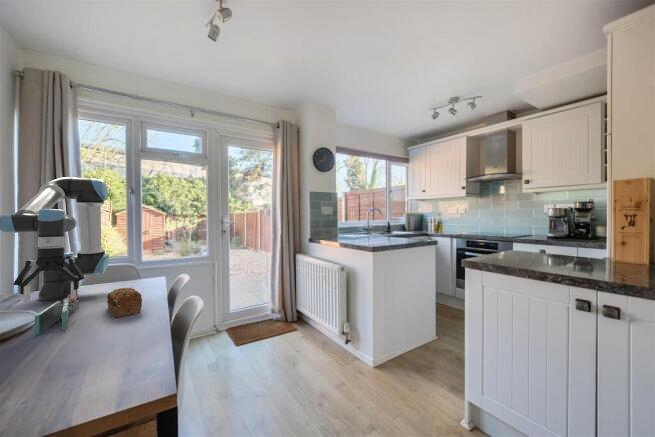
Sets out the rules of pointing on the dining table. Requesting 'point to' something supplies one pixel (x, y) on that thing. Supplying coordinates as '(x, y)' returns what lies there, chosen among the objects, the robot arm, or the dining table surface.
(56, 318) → the base
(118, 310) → the bread
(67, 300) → the jaw
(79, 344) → the dining table surface
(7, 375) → the dining table surface
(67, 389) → the dining table surface
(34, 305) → the dining table surface
